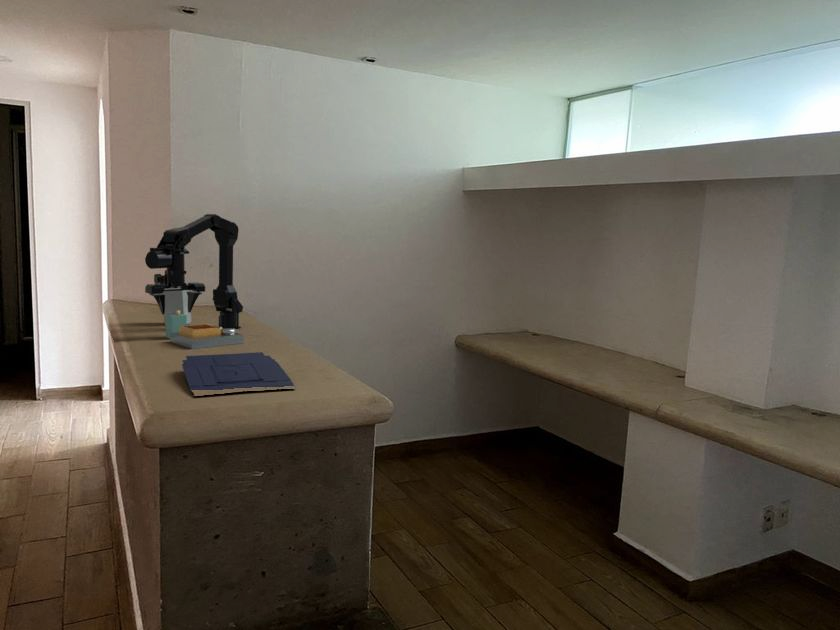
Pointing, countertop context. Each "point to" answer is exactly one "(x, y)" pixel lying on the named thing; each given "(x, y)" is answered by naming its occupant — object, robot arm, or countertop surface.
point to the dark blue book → (234, 371)
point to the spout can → (174, 323)
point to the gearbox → (205, 336)
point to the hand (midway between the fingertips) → (176, 313)
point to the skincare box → (176, 303)
